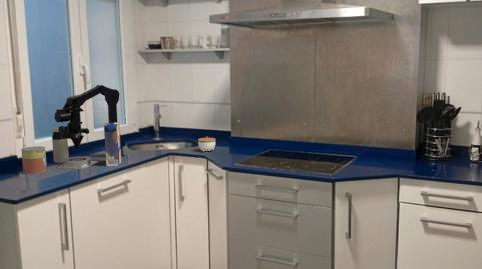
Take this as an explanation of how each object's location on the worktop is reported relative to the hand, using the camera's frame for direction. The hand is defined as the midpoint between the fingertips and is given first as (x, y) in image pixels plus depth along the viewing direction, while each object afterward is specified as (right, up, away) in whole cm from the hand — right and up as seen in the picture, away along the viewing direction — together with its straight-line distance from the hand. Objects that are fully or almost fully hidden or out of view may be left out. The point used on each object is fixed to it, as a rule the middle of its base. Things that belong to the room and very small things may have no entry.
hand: (76, 149), depth 250 cm
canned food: (-17, -11, -12) cm, 24 cm away
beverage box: (+19, -8, +4) cm, 21 cm away
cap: (0, -8, +1) cm, 8 cm away
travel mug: (-12, -8, +10) cm, 18 cm away
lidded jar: (+68, -3, +36) cm, 77 cm away
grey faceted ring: (0, -9, +1) cm, 9 cm away
